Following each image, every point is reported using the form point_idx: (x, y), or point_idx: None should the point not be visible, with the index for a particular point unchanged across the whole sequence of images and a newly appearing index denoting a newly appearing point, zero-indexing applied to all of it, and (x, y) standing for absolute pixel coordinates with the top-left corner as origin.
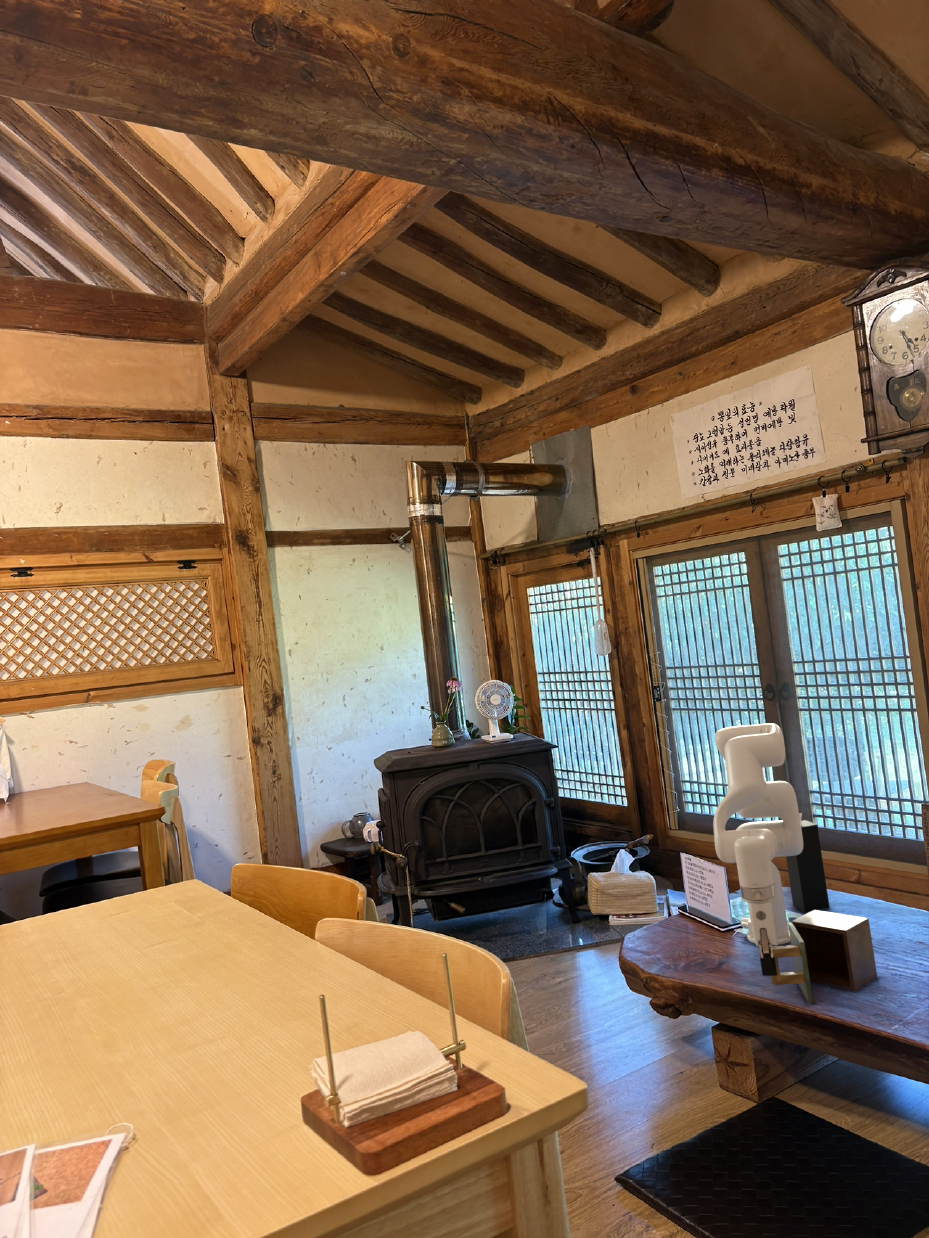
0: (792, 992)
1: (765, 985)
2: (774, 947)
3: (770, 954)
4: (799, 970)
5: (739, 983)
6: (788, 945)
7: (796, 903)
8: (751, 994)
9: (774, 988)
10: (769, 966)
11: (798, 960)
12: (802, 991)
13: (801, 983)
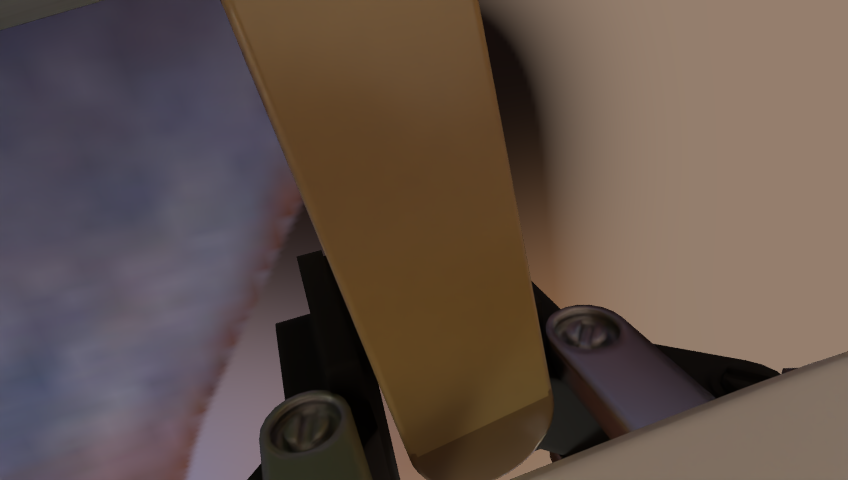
0: (94, 97)
1: (15, 318)
2: (452, 401)
3: (715, 358)
4: (18, 12)
5: (48, 468)
6: (304, 175)
7: None
8: (223, 350)
9: (55, 245)
10: None
11: (8, 2)
12: (81, 6)
13: (73, 5)
